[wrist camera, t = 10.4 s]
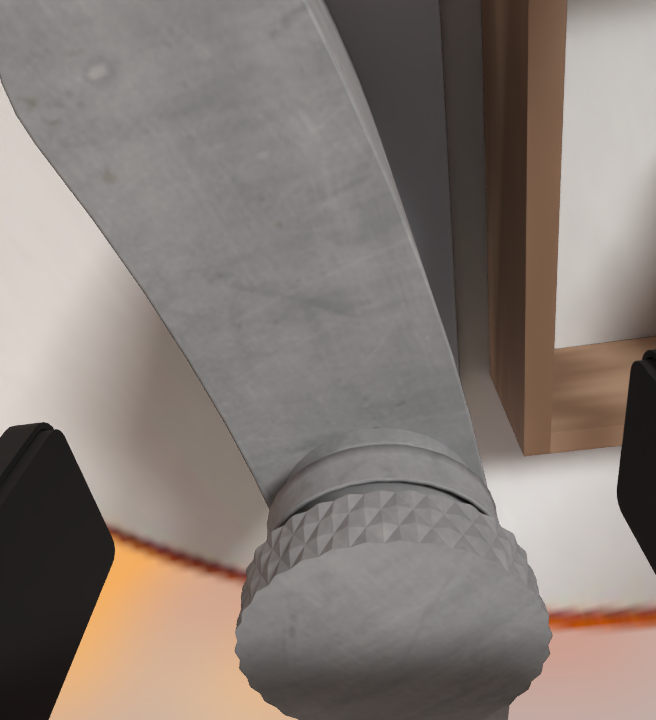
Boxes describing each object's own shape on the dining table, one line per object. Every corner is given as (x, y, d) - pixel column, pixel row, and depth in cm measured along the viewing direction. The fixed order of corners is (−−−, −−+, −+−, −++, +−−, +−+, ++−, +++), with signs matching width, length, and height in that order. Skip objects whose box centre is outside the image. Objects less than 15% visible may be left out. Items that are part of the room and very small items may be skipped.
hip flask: (225, -14, 21) (-356, -118, 3) (339, -55, 20) (361, -458, 3) (351, 370, 28) (376, 945, 11) (437, 349, 28) (607, 923, 10)
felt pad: (429, -138, 19) (431, -140, 19) (458, 387, 29) (460, 392, 29) (156, -84, 20) (152, -85, 20) (275, 410, 30) (274, 414, 30)
